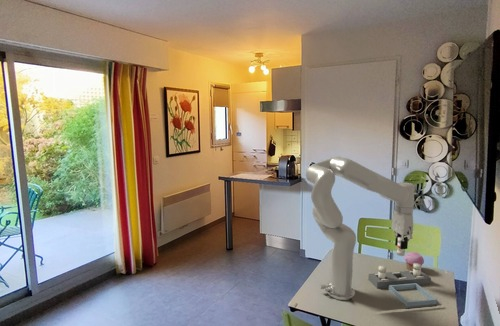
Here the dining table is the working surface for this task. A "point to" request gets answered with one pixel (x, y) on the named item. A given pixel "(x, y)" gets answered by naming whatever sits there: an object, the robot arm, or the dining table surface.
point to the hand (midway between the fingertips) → (401, 246)
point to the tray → (428, 301)
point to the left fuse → (382, 272)
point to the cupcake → (413, 259)
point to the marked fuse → (399, 251)
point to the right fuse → (416, 269)
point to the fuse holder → (398, 279)
